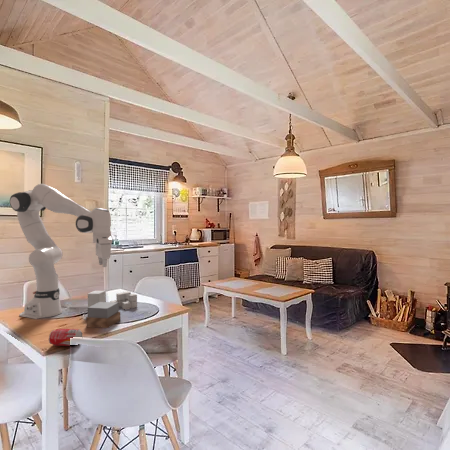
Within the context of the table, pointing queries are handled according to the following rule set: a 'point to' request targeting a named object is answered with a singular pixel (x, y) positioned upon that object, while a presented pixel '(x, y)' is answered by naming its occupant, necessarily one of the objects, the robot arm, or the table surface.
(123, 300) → the puzzle cube
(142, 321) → the table surface
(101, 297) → the supplement box
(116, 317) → the tower bottom
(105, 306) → the tower top
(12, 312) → the table surface
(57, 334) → the soda can
